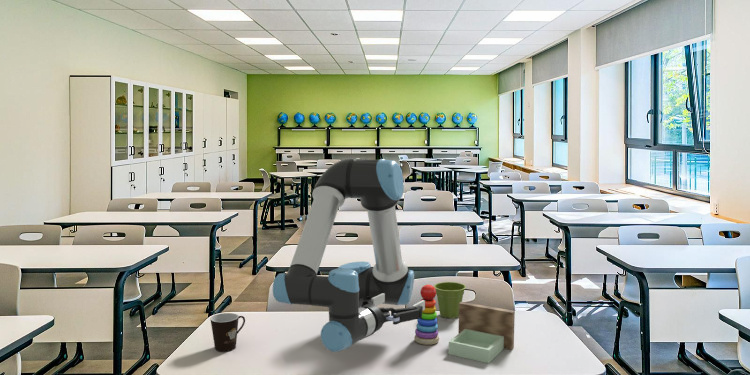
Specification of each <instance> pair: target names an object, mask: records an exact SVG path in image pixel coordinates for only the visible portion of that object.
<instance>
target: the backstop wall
mask: <svg viewBox="0 0 750 375" xmlns="http://www.w3.org/2000/svg"><path fill="white" fill-rule="evenodd" d="M515 312H516V311H515V310H511V309H505V308H500V307H494V306H488V305H487V306H486V305H482V304H477V303H469V302H464V301H462V302H460V303H459V317H458V330H457V331H458V334H459V333H460V332H462V331H463V330H464V329H469V330H474V331H479V332H484V333H489V334H494V335H499V336H504V349H505V350H513V349H514V348H515V320H516V319H515V318H516V317H515ZM458 334H457V335H458Z"/></svg>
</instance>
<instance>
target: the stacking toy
mask: <svg viewBox="0 0 750 375" xmlns="http://www.w3.org/2000/svg"><path fill="white" fill-rule="evenodd" d="M420 297H421V298H422V299H421V300H420V301H422V300H425V310H423V311H422V318H420V319H416V320H417V323H416V329H415V331H414V333H415V335H414V336H413V337H414V341H415V342H416V343H417V344H420V345H427V346H431V345H435V344H437V343H438V342H439V341H440V338H439V330H438V329H439V325H438V319H437V316H438V313H437V312H436V311H437V308H436V304H437V302H436V300H435V298H436V297H437V294H436V289H435V288H434V285H431V284H425V285H423V286H422V287H421V289H420Z"/></svg>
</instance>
